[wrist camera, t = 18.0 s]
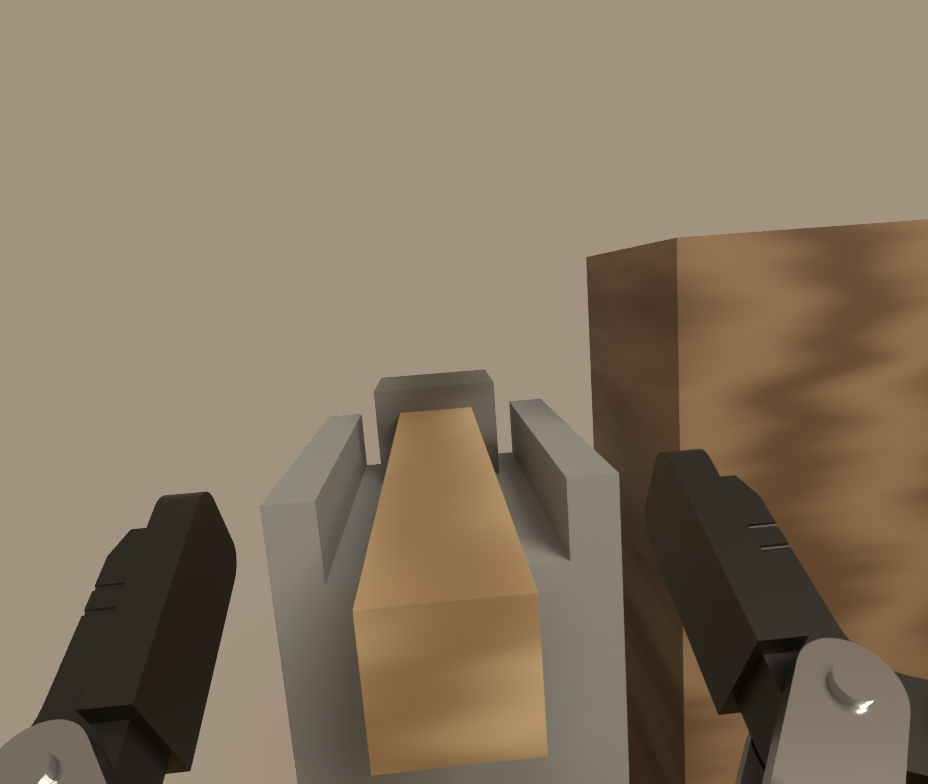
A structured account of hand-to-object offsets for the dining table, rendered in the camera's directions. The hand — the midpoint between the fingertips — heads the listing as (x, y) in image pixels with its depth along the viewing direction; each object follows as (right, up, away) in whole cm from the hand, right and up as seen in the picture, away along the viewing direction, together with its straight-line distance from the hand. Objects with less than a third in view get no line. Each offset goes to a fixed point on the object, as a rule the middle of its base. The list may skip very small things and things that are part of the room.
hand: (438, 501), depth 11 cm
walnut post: (+14, -21, +19) cm, 32 cm away
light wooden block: (0, -3, +9) cm, 9 cm away
